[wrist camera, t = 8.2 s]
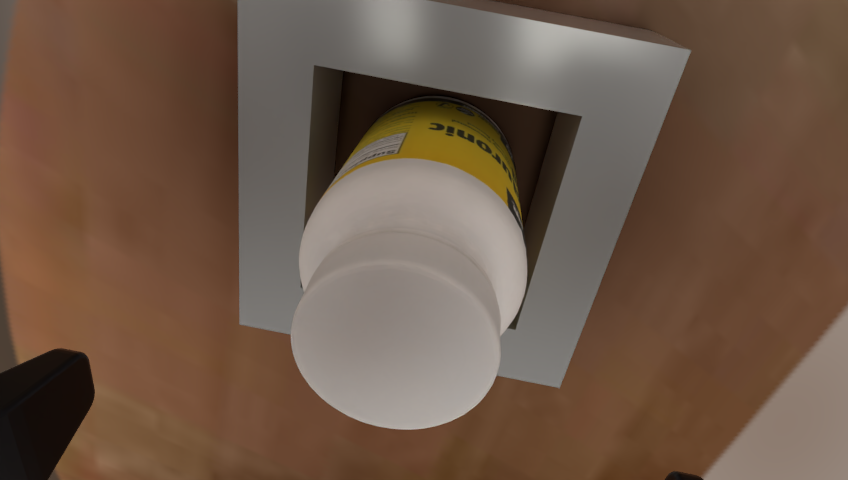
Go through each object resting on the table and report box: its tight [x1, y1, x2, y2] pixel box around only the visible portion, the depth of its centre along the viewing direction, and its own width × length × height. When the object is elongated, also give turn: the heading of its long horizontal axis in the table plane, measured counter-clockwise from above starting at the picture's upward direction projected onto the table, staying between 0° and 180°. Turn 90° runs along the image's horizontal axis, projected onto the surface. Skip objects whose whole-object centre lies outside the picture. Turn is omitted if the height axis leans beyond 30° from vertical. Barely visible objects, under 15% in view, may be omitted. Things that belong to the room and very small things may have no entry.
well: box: [238, 0, 691, 388], centre depth 17 cm, size 11×11×4 cm
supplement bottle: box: [291, 96, 527, 430], centre depth 14 cm, size 5×5×10 cm
